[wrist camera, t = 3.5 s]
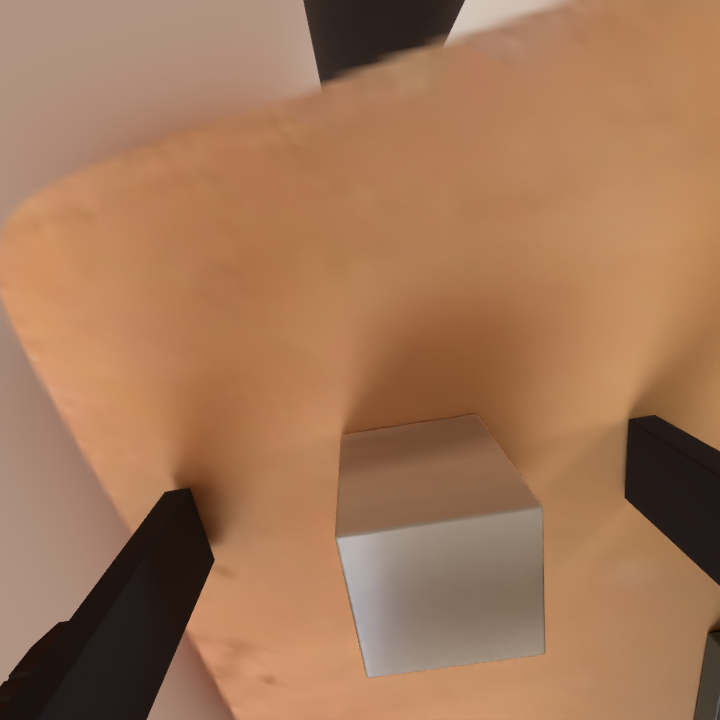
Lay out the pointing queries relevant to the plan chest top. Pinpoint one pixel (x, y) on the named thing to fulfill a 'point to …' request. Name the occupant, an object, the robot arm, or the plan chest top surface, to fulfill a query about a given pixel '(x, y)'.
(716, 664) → the cabinet
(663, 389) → the plan chest top surface
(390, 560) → the block
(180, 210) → the plan chest top surface
